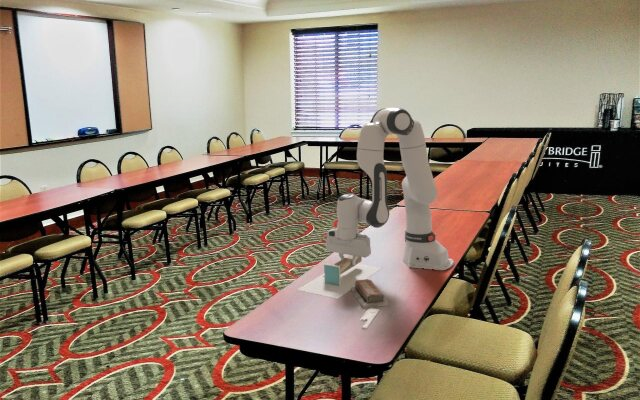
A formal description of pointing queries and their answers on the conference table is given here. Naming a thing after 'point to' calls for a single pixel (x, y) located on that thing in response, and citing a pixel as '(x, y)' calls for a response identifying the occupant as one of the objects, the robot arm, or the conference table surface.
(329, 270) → the tile
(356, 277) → the mat
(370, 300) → the packaged product
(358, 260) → the long tan strip
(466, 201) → the conference table surface
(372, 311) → the white notched flat strip
